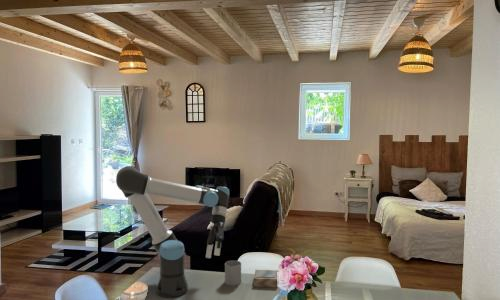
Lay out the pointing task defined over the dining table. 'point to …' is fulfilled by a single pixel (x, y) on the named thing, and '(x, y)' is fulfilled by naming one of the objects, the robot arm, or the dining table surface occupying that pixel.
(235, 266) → the cup
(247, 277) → the dining table surface
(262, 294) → the dining table surface
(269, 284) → the plinth
